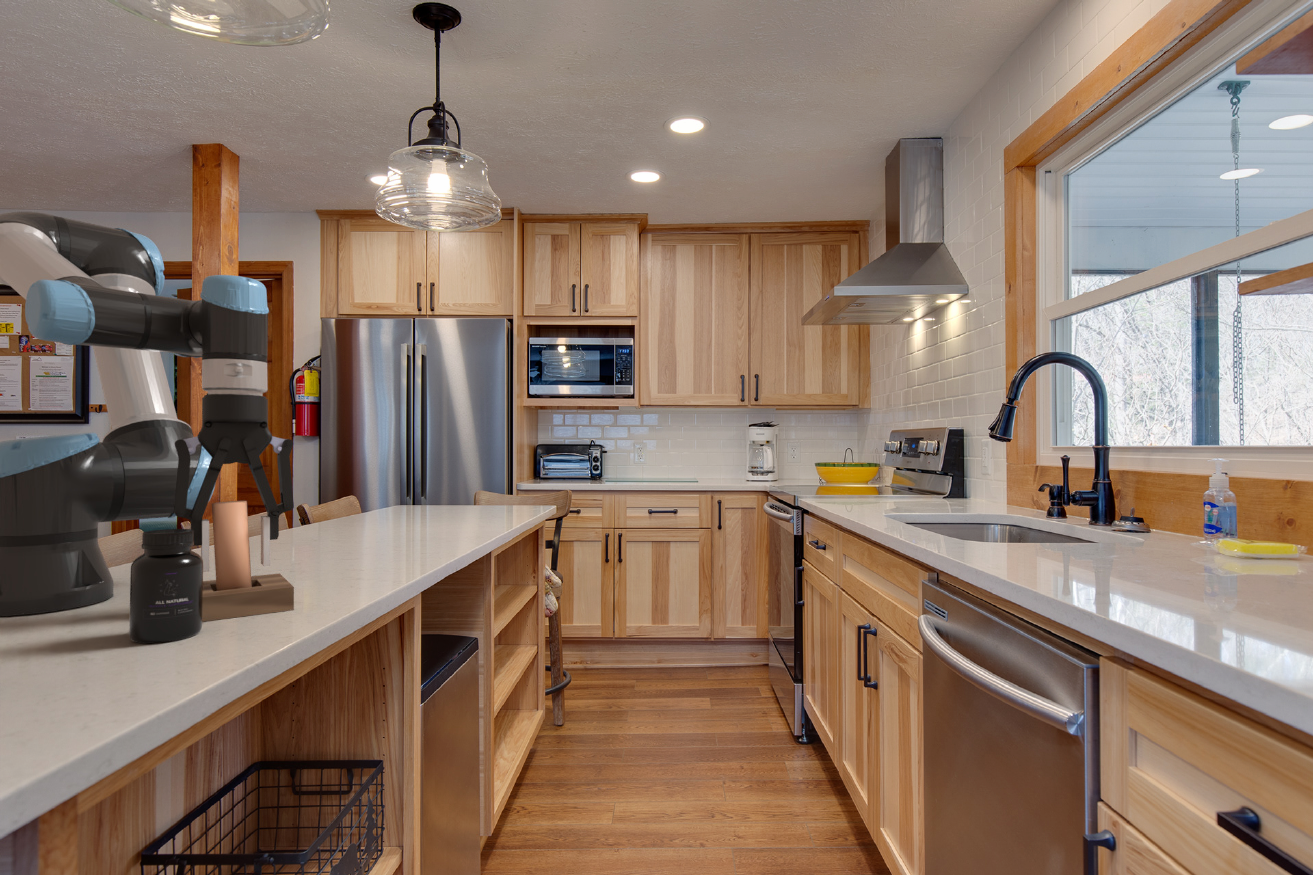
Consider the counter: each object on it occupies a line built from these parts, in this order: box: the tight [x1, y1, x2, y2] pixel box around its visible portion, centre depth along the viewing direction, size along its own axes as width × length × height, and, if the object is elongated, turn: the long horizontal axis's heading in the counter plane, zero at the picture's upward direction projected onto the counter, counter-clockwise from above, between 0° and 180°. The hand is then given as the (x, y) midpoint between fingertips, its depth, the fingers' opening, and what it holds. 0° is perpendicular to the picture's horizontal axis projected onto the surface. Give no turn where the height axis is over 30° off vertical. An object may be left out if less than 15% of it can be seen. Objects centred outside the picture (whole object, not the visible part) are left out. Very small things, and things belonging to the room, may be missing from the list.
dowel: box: [211, 500, 252, 591], centre depth 93 cm, size 4×4×14 cm
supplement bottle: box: [129, 528, 204, 644], centre depth 80 cm, size 7×7×12 cm
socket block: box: [202, 573, 295, 623], centre depth 93 cm, size 12×12×3 cm
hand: (235, 566), depth 93 cm, fingers open, 6 cm apart
